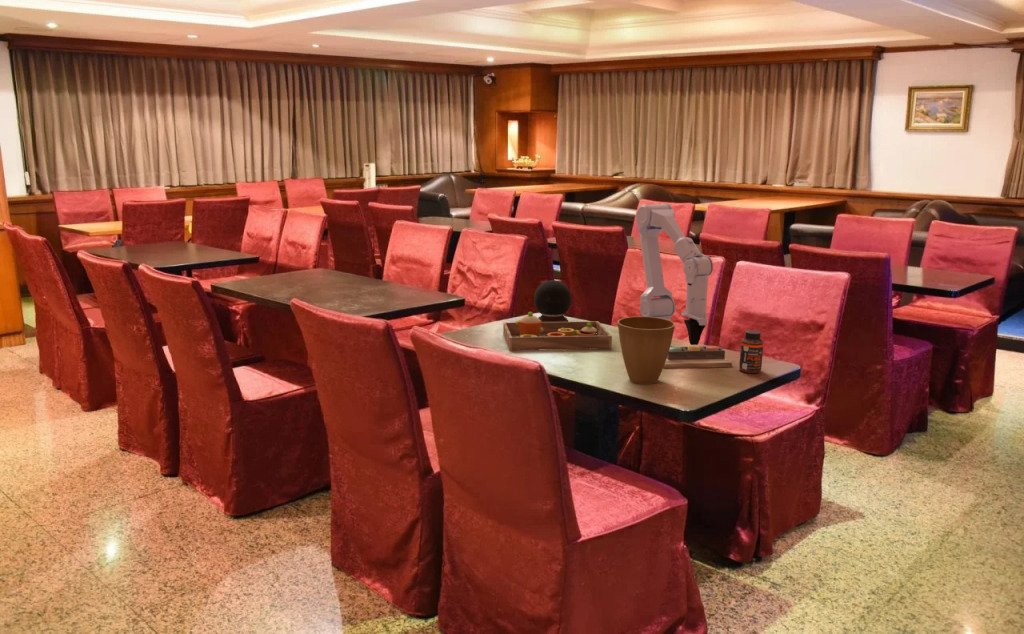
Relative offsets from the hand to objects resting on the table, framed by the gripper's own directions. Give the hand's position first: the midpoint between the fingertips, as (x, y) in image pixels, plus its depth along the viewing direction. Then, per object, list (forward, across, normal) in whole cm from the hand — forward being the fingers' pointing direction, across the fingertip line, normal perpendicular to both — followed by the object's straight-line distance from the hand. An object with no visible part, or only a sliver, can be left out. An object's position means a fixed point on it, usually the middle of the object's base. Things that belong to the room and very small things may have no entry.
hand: (694, 344), depth 244 cm
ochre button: (+3, 0, 0) cm, 3 cm away
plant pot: (+5, +19, -20) cm, 28 cm away
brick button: (+3, 0, +5) cm, 6 cm away
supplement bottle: (+5, +12, +12) cm, 18 cm away
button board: (+5, 0, -1) cm, 5 cm away
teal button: (+4, 0, -6) cm, 7 cm away
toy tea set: (+6, -25, -37) cm, 45 cm away
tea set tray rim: (+5, -27, -36) cm, 46 cm away
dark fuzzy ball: (+6, -55, -34) cm, 65 cm away
